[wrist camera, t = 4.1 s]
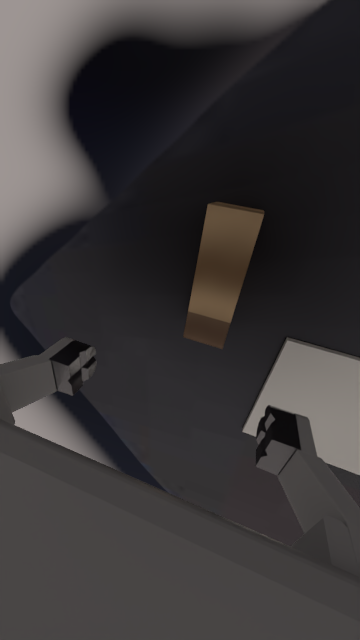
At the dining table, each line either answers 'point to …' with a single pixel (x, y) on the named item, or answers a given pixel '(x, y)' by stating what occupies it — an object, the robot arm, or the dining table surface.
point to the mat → (316, 399)
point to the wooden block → (221, 270)
